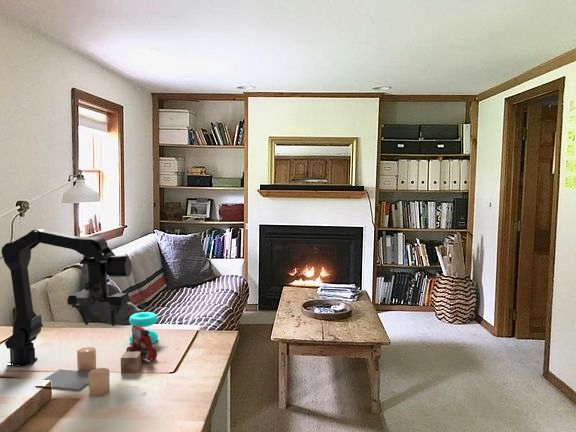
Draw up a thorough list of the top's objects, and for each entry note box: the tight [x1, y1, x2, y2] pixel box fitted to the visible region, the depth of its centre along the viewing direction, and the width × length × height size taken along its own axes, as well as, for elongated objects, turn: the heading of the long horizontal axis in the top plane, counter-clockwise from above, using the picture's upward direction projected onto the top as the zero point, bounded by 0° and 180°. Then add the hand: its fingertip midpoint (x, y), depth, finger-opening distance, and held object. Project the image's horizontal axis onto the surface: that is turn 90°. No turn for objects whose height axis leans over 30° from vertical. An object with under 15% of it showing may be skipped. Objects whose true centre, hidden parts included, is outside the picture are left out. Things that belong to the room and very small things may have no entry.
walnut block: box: [120, 351, 142, 374], centre depth 151 cm, size 5×5×5 cm
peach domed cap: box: [88, 367, 111, 398], centre depth 136 cm, size 5×5×6 cm
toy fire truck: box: [125, 325, 158, 363], centre depth 160 cm, size 7×12×10 cm, turn 42°
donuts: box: [128, 311, 159, 344], centre depth 176 cm, size 10×10×10 cm
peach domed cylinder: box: [76, 346, 97, 372], centre depth 152 cm, size 5×5×6 cm
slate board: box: [42, 368, 89, 392], centre depth 143 cm, size 14×11×1 cm
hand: (100, 325), depth 155 cm, fingers open, 9 cm apart
